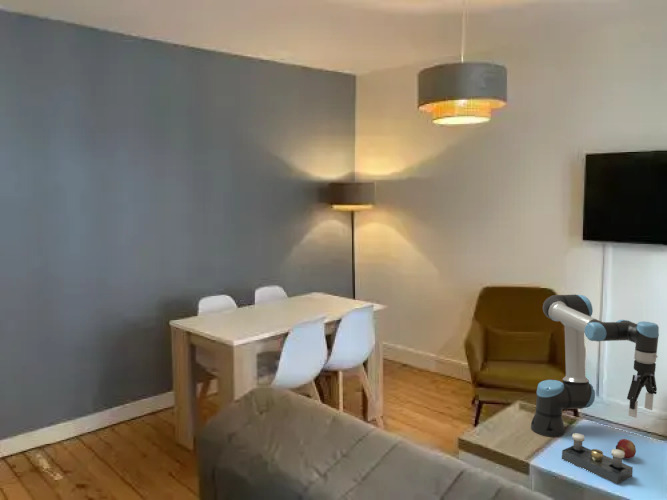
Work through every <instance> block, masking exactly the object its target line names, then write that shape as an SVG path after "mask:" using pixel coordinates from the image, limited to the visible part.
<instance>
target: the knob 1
mask: <svg viewBox="0 0 667 500" xmlns="http://www.w3.org/2000/svg"><path fill="white" fill-rule="evenodd" d="M572 440H573V445H572V446H573V449H575V450H578V451H581V450H582V446H583V442H584V441H585V435H584V434H582V433H577V432H575V433H572Z"/></svg>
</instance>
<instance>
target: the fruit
mask: <svg viewBox="0 0 667 500" xmlns="http://www.w3.org/2000/svg"><path fill="white" fill-rule="evenodd" d="M615 449H618V450H622V451H623V452H624V453H625V454H624V458H623V459H626V460H630V459H633V458H634V457H635V455H636V453H637V449H636V445H635V443H634V442H633V441H631V440H629V439H627V438H621V439H619V441H618V442H617V443H616V445H615Z"/></svg>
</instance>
